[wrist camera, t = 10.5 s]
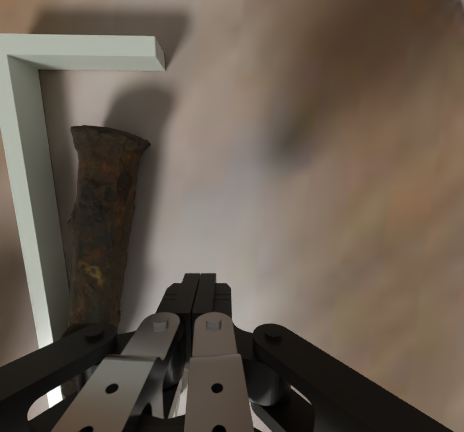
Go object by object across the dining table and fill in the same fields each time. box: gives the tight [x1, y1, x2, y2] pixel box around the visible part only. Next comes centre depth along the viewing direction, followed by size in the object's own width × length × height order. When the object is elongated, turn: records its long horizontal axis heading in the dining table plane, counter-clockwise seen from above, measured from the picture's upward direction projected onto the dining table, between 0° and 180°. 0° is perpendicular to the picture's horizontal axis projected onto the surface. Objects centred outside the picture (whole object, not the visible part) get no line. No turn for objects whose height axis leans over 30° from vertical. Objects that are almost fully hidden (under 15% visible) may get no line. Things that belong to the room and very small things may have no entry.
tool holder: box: [0, 34, 181, 417], centre depth 18 cm, size 9×26×2 cm, turn 0°
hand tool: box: [60, 125, 151, 398], centre depth 18 cm, size 19×4×5 cm, turn 167°
